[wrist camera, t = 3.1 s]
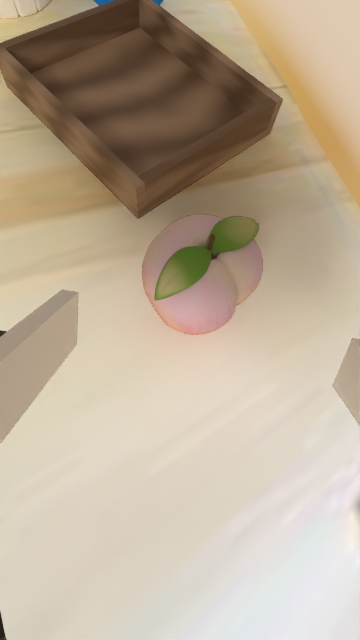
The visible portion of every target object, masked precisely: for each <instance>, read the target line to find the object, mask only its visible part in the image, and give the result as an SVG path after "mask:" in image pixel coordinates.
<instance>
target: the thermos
mask: <svg viewBox="0 0 360 640" xmlns="http://www.w3.org/2000/svg"><path fill="white" fill-rule="evenodd" d="M94 1H95V2H96V3H97V4H98V5H100V6H101V5H103V4H106V3H109V2H111V1H114V0H94ZM152 1H154V2H155V3H156V4H158V5H160V4H161V2H162V1H163V0H152Z"/></svg>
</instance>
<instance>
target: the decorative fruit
mask: <svg viewBox="0 0 360 640" xmlns="http://www.w3.org/2000/svg"><path fill="white" fill-rule="evenodd" d="M258 226H259V224H258V223H257V222H256V221H255V220H253V219H251V218H247V217H241V216H235V217H228V218H225V219H223V218H219V217H216V216H212V215H207V214H196V215H190V216H186V217H183V218H180V219H178V220H176V221H175V222H173V223H172V224H170V225H169V226H168V227H167V228H165V229H164V230H163V231H162V232H161V233H160V234H159V235H158V236H157V237H156V238H155V239H154V240H153V241H152V243H151V244H150V246H149V248H148V250H147V252H146V255H145V258H144V261H143V266H142V280H143V285H144V289H145V292H146V294H147V296H148V299H149V301H150V302H151V304H152V306H153V307H154V309H155V311H156V312H157V314H158V315H159V316H160V318H161V319H162V320H163V321H164V322H165V323H166V324H167V325H168V326H170V327H171V328H173V329H174V330H176V331H178V332H181V333H184V334H191V335H199V334H206V333H209V332H212V331H215V330H217V329H219V328H220V327H222V326H223V325H225V324H226V323H227V322H228V321H229V320H230V318H231V317H232V315H233V313H234V310H235V307H236V305H238V304H240V303H241V302H243V301H244V300H245V299H246V298H247V297H248V296H249V295H250V294H251V293H252V292H253V291H254V290H255V289H256V287H257V286H258V284H259V282H260V279H261V275H262V271H263V260H262V256H261V253H260V249H259V247H258V245H257V243H256V242H255V240H254V237H255V236H256V234H257V232H258V229H259V227H258Z"/></svg>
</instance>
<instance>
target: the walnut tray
mask: <svg viewBox="0 0 360 640" xmlns="http://www.w3.org/2000/svg"><path fill="white" fill-rule="evenodd" d="M0 70H1V72H2V75H3V77H4V80H5V82H6V84H7V87H8V88H9V89H10V90H11V91H12V92H13V93H14V94H15V95H16V96H17V97H18V98H19V99H20V100H21V101H22V102H23V103H24V104H25V105H26V106H27V107H28V108H29V109H30V110H31V111H32V112H33V113H34V114H35V115H36V116H37V117H38V118H39V119H40V120H41V121H42V122H43V123H44V124H45V125H46V126H47V127H48V128H49V129H50V130H51V131H52V132H53V133H54V134H55V135H56V136H57V137H58V138H59V139H60V140H61V141H62V142H63V143H64V144H65V145H66V146H67V147H68V148H69V149H70V151H71V152H72V153H73V154H74V155H75V156H76V157H77V158H78V159H79V160H80V161H81V162H82V163H83V164H84V165H85V166H86V167H87V168H88V169H89V170H90V171H91V172H92V173H93V174H94V175H95V176H96V177H97V178H98V179H99V180H100V181H101V182H102V183H103V184H104V185H105V186H106V187H107V188H108V189H109V190H110V191H111V192H112V193H113V194H114V195H115V196H116V197H117V198H118V199H119V200H120V201H121V202H122V203H123V204H124V205H125V206H126V207H127V208H128V209H129V210H130V211H131V212H132V213H133V214H134V215H135V216H136V217H137V218H138V219H139V218H140V217H142V216H143V215H145V214H146V213H148V212H149V211H151V210H153V209H154V208H156V207H157V206H159V205H160V204H162V203H163V202H165V201H166V200H168V199H170V198H171V197H173V196H174V195H176V194H177V193H179V192H180V191H182V190H183V189H185V188H186V187H188V186H190V185H191V184H193V183H194V182H196V181H197V180H199V179H200V178H202V177H203V176H205V175H207V174H208V173H210V172H211V171H213V170H214V169H216V168H217V167H219V166H220V165H222V164H224V163H225V162H227V161H228V160H230V159H231V158H233V157H234V156H236V155H237V154H239V153H241V152H242V151H244V150H245V149H247V148H248V147H250V146H251V145H253V144H254V143H256V142H258V141H259V140H261V139H262V138H264V137H265V136H267V135H268V134H270V132H271V129H272V127H273V124H274V121H275V119H276V116H277V113H278V111H279V108H280V106H281V103H282V100H283V99H282V98H281V97H279V96H278V95H277V94H275V93H274V92H273V91H272V90H270V89H269V88H268V87H266V86H265V85H264V84H262V83H261V82H260V81H258V80H257V79H256V78H254V77H253V76H252V75H250V74H249V73H248V72H246V71H245V70H244V69H242V68H241V67H240V66H238V65H237V64H236V63H234V62H233V61H232V60H230V59H229V58H228V57H227V56H225V55H224V54H223V53H221V52H220V51H219V50H217V49H216V48H215V47H213V46H212V45H211V44H209V43H208V42H207V41H205V40H204V39H203V38H201V37H200V36H199V35H197V34H196V33H195V32H193V31H192V30H191V29H189V28H188V27H187V26H185V25H184V24H183V23H181V22H180V21H179V20H178V19H176V18H175V17H174V16H172V15H171V14H170V13H168V12H167V11H166V10H164V9H163V8H162V7H160V6H159V5H158V4H156V3H155V2H154V1H152V0H114V1H111V2H109V3H106V4H103V5H101V6H98V7H95V8H93V9H90V10H87V11H85V12H82V13H79V14H77V15H74V16H71V17H69V18H66V19H63V20H61V21H58V22H55V23H53V24H50V25H47V26H45V27H42V28H39V29H37V30H34V31H31V32H28V33H26V34H23V35H20V36H18V37H15V38H12V39H10V40H7V41H4V42H2V43H0Z"/></svg>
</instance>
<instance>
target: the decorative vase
mask: <svg viewBox="0 0 360 640" xmlns="http://www.w3.org/2000/svg"><path fill="white" fill-rule="evenodd" d="M49 2H50V0H0V18H1V19H9V18H18V16H19V15H20V16H21V17H25V16H29V15H32V14H35V13H37V11H41V10H42V9H43V8H44V7H45V6H47V5H48V3H49Z"/></svg>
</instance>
